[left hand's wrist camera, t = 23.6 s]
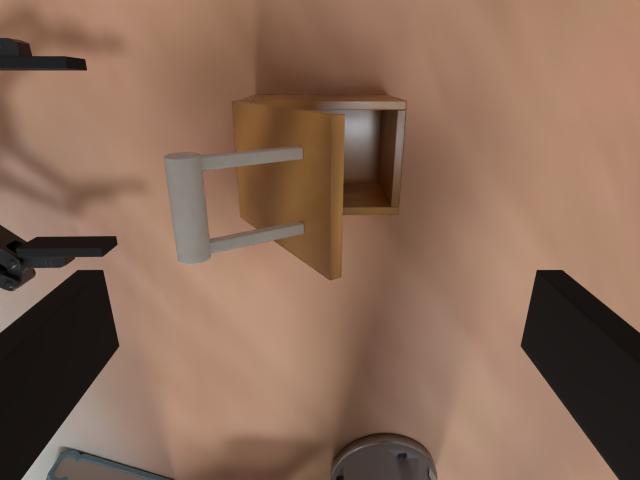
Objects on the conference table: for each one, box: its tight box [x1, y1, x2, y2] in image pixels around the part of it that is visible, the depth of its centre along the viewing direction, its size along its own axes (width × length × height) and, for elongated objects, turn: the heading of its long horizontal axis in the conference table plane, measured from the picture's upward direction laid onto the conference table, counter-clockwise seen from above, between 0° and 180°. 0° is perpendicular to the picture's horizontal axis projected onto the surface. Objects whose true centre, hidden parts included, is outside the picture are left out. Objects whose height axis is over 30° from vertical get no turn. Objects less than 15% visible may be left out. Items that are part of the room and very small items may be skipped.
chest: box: [239, 95, 407, 215], centre depth 40 cm, size 14×10×9 cm
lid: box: [164, 101, 345, 280], centre depth 27 cm, size 14×10×9 cm
